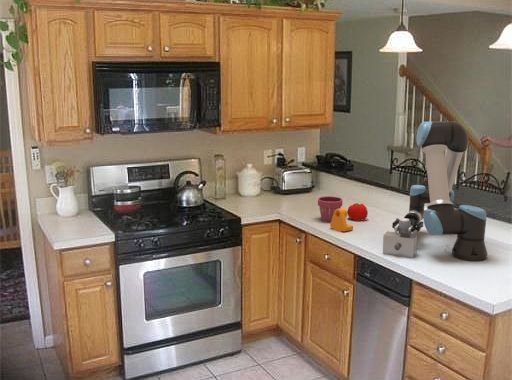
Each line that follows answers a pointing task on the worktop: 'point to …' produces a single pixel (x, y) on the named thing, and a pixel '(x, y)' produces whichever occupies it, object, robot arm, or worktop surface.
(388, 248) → the grey toy camera
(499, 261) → the worktop surface
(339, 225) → the bracket
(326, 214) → the plant pot
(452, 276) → the worktop surface
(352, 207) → the tomato
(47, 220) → the worktop surface
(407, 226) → the grey cylinder
